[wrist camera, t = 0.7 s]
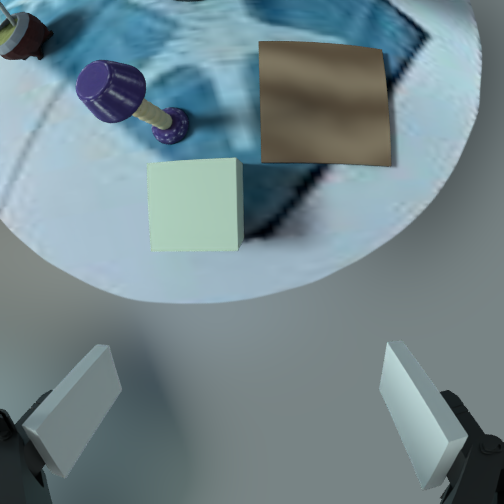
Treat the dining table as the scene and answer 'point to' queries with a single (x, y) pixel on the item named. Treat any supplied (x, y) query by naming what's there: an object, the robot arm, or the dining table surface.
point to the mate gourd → (22, 36)
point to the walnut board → (323, 104)
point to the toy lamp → (127, 99)
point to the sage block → (196, 205)
